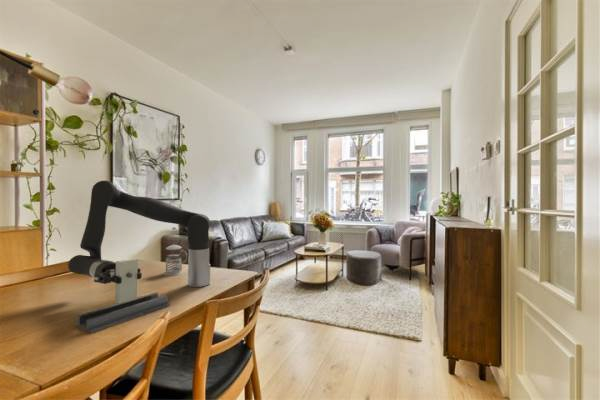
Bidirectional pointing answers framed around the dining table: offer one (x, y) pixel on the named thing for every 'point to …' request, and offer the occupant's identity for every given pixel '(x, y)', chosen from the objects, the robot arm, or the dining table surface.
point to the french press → (172, 258)
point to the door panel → (126, 280)
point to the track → (120, 312)
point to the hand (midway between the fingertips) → (130, 278)
